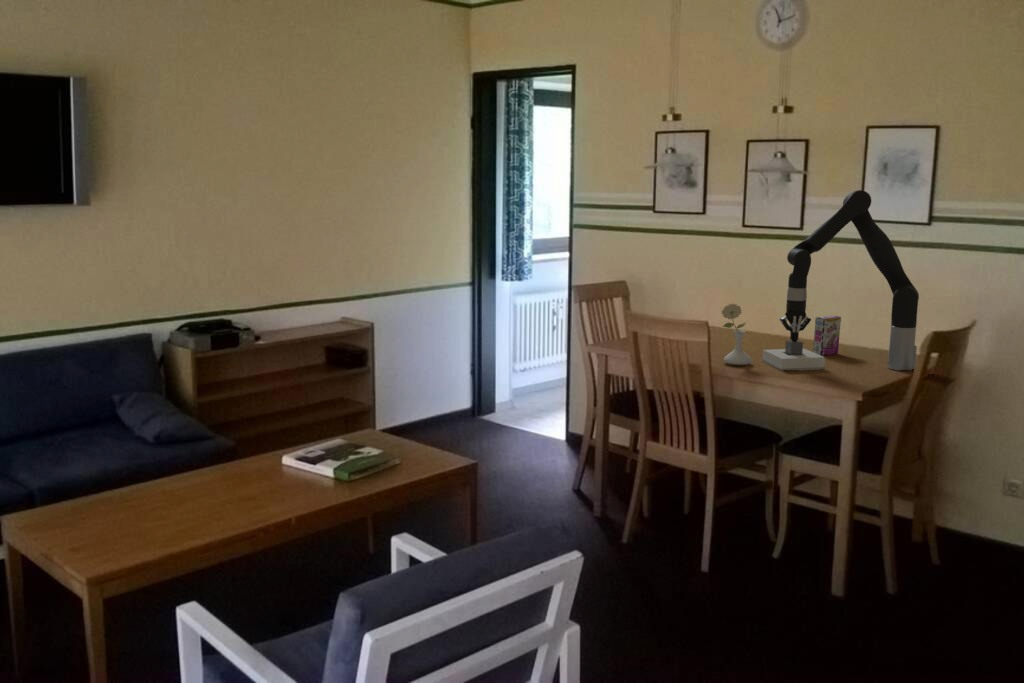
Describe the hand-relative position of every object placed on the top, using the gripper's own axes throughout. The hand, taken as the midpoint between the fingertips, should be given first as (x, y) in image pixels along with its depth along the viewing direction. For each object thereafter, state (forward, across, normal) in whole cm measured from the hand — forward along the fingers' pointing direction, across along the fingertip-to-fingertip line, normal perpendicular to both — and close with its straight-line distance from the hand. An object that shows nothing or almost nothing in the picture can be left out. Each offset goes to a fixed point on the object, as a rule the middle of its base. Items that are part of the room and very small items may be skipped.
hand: (794, 340), depth 379 cm
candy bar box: (+10, -24, -19) cm, 32 cm away
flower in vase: (+10, +22, -6) cm, 25 cm away
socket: (+10, 0, 0) cm, 10 cm away
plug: (+9, 0, 0) cm, 9 cm away
